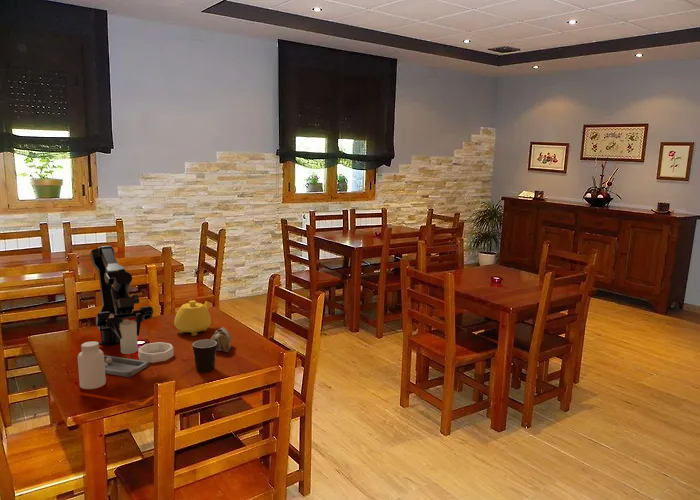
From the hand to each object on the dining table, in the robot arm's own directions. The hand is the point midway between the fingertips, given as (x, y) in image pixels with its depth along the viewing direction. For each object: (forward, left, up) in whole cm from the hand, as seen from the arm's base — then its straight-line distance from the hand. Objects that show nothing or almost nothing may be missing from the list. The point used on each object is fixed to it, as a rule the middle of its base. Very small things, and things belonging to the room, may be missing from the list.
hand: (129, 336), depth 190 cm
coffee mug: (+23, +12, -14) cm, 30 cm away
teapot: (-3, +48, -14) cm, 50 cm away
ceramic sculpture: (+19, +31, -14) cm, 38 cm away
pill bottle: (-5, -14, -14) cm, 20 cm away
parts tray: (-6, 0, -13) cm, 15 cm away
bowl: (0, +14, -13) cm, 20 cm away
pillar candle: (-1, +1, -6) cm, 6 cm away
